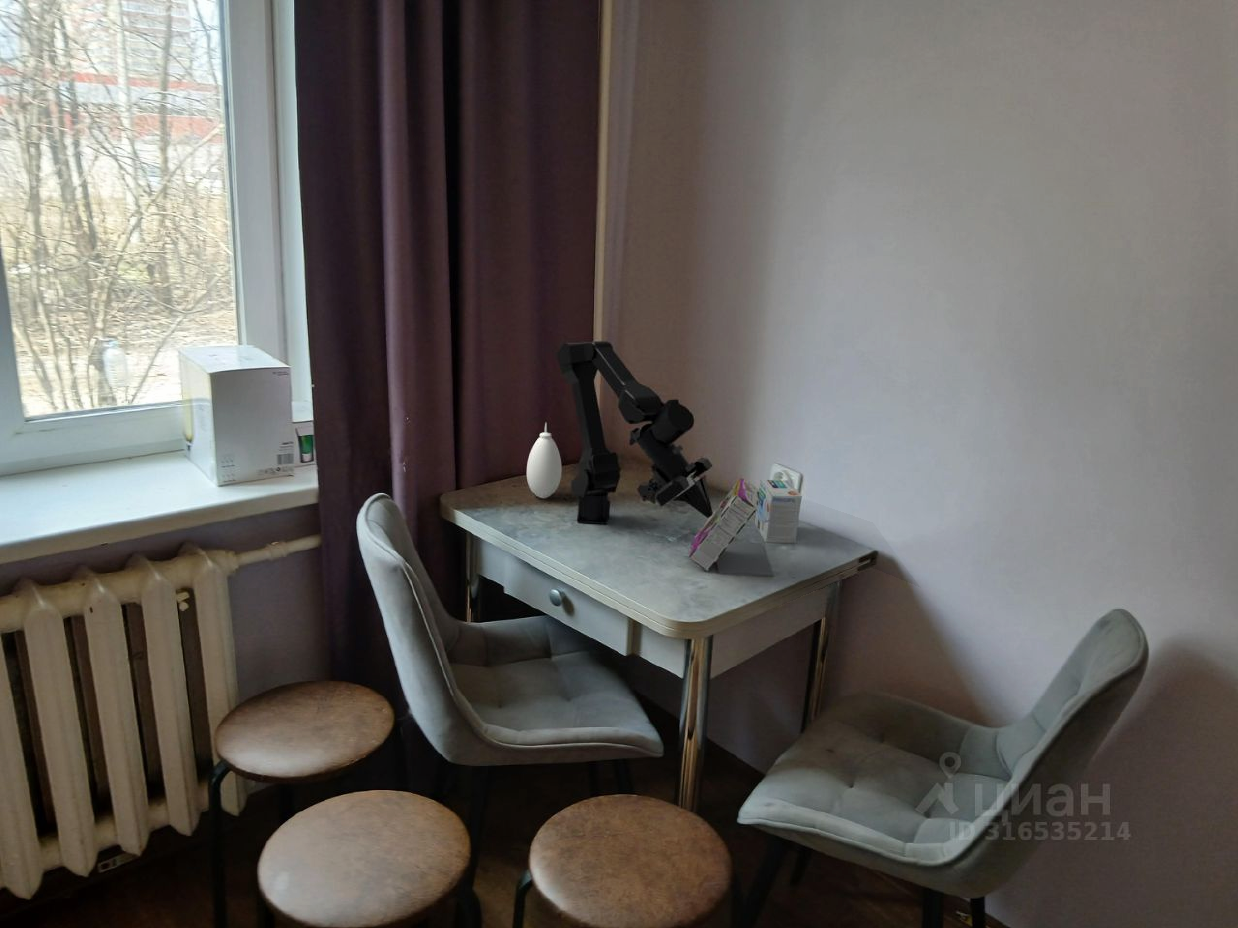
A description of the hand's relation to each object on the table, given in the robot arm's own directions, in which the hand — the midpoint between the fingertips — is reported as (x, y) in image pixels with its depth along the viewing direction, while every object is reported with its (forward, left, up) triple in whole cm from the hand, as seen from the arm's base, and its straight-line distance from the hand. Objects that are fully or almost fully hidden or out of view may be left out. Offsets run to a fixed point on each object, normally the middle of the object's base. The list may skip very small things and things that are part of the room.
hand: (710, 516), depth 168 cm
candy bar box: (-1, +2, -9) cm, 9 cm away
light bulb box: (+17, +19, -10) cm, 27 cm away
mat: (+7, +4, -10) cm, 13 cm away
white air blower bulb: (-35, +33, -10) cm, 49 cm away
